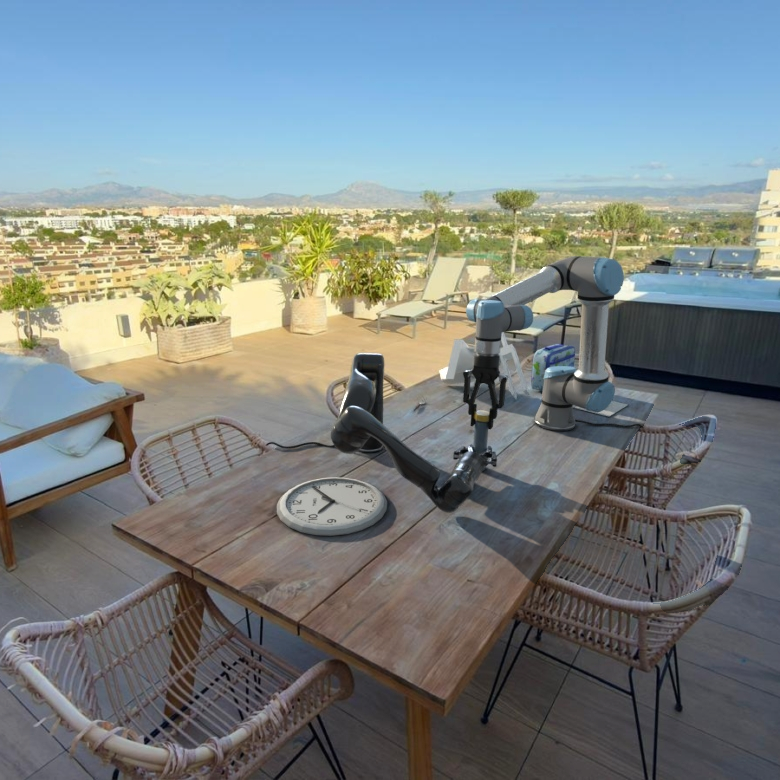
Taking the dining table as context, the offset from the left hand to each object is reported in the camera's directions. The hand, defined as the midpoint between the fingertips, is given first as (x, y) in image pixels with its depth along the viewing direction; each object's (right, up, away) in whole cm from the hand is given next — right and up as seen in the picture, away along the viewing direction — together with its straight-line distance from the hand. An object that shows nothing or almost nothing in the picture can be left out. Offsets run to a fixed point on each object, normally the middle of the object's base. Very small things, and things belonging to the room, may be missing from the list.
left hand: (481, 447), depth 167 cm
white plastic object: (+12, +17, +76) cm, 79 cm away
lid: (-1, +11, -6) cm, 13 cm away
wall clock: (-45, -13, -24) cm, 53 cm away
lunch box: (+48, +19, +84) cm, 98 cm away
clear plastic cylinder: (-1, -7, -1) cm, 7 cm away
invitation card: (+62, +11, +59) cm, 86 cm away
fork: (-17, +11, +55) cm, 59 cm away
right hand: (-1, +7, -5) cm, 9 cm away
